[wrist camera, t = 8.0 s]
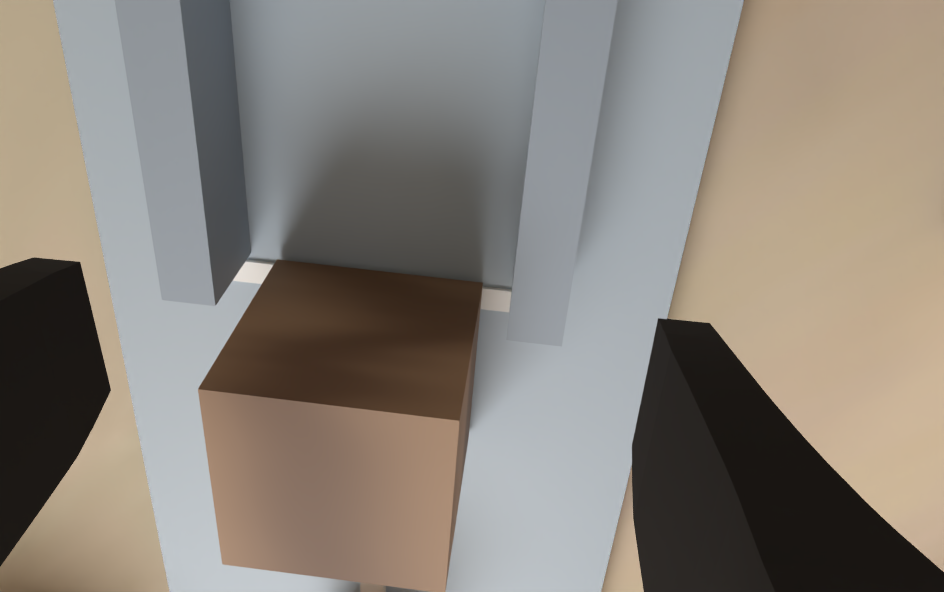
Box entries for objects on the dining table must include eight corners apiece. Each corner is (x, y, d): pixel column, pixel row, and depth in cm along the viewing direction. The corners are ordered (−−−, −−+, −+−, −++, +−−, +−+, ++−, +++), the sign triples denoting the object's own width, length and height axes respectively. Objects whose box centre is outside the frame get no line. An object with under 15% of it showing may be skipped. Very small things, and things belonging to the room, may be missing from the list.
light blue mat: (789, -253, 15) (847, -262, 12) (576, 659, 29) (577, 761, 26) (28, -316, 15) (-107, -340, 12) (191, 608, 30) (148, 702, 27)
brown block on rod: (482, 282, 19) (459, 420, 15) (447, 671, 28) (425, 829, 24) (276, 259, 20) (197, 389, 16) (302, 652, 28) (255, 805, 24)
